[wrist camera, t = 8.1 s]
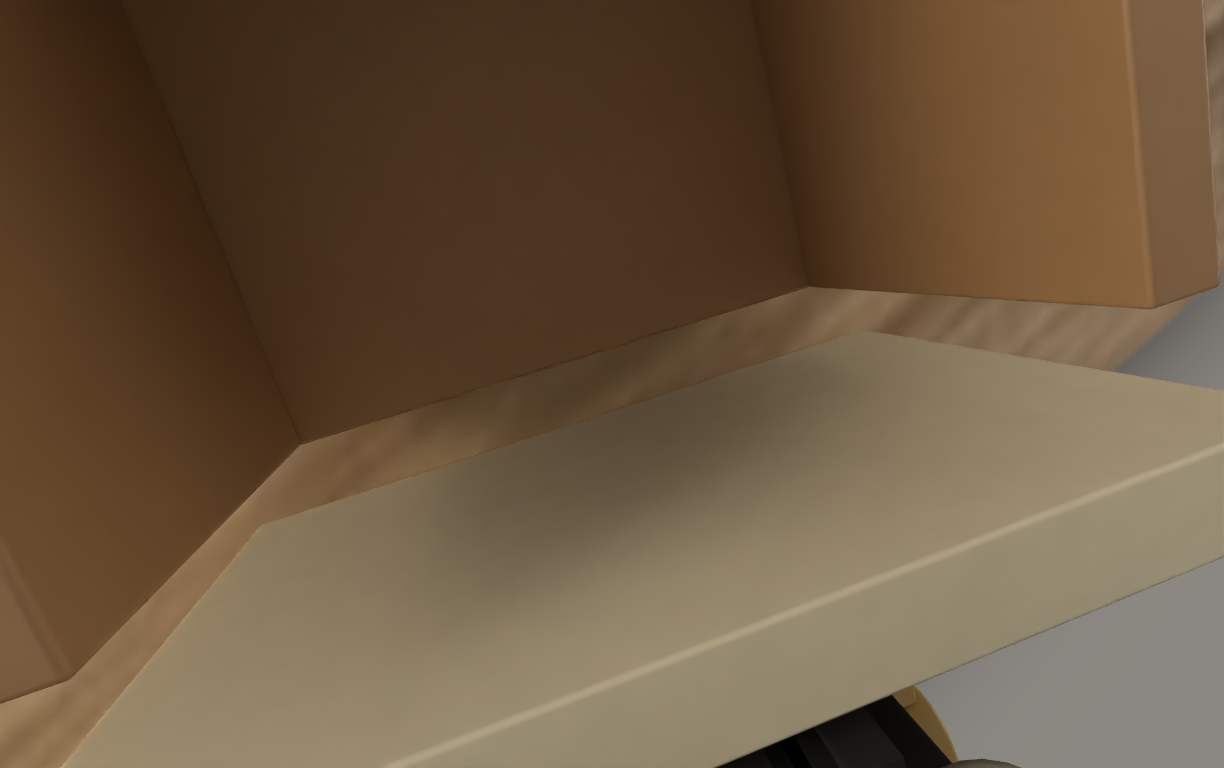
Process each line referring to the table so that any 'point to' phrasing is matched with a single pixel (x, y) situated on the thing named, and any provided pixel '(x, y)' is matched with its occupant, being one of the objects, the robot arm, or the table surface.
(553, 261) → the drawer
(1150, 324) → the table surface
